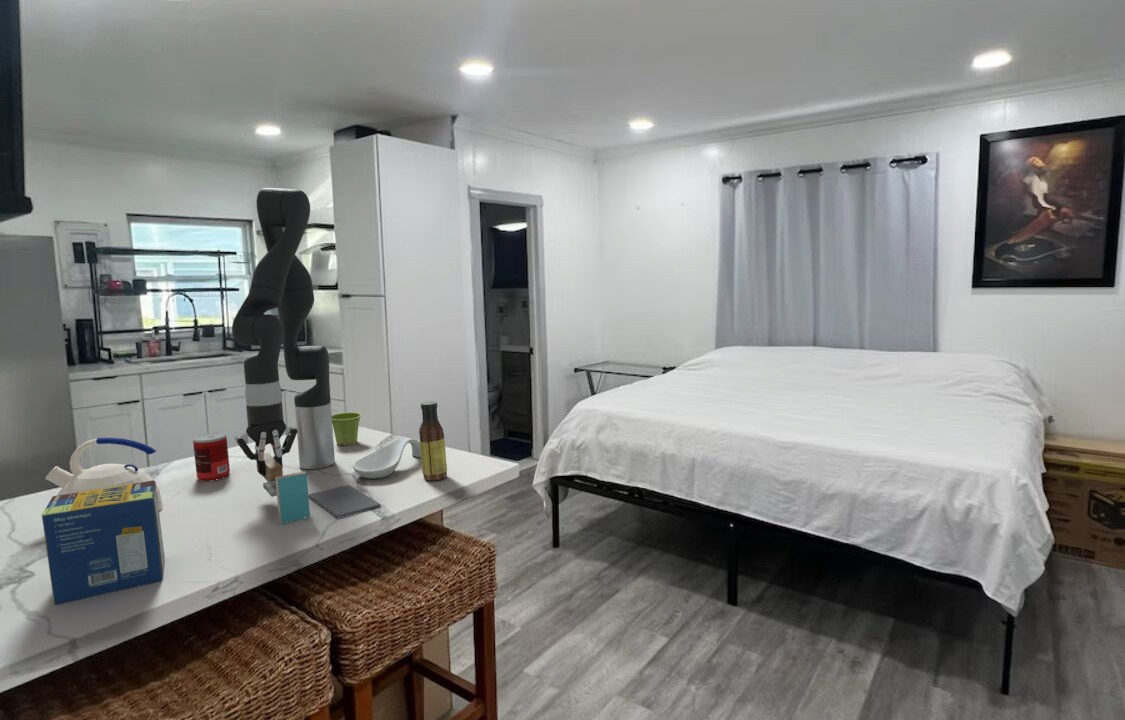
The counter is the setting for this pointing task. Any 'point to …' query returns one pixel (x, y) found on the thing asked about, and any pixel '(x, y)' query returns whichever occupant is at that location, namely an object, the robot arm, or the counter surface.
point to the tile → (292, 497)
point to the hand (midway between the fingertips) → (270, 473)
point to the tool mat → (343, 500)
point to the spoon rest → (385, 459)
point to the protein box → (103, 541)
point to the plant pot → (346, 427)
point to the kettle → (100, 471)
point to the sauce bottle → (432, 444)
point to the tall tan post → (271, 474)
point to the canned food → (211, 456)
